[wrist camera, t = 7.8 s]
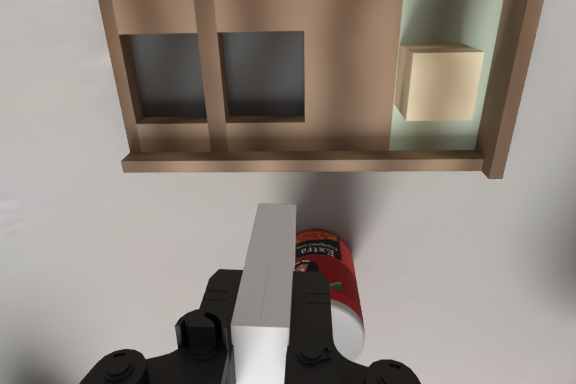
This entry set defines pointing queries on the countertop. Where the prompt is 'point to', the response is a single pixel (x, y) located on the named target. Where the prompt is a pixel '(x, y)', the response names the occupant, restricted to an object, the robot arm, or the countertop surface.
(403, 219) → the countertop surface
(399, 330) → the countertop surface
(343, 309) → the canned food
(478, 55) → the maple block
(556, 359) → the countertop surface
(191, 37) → the track
